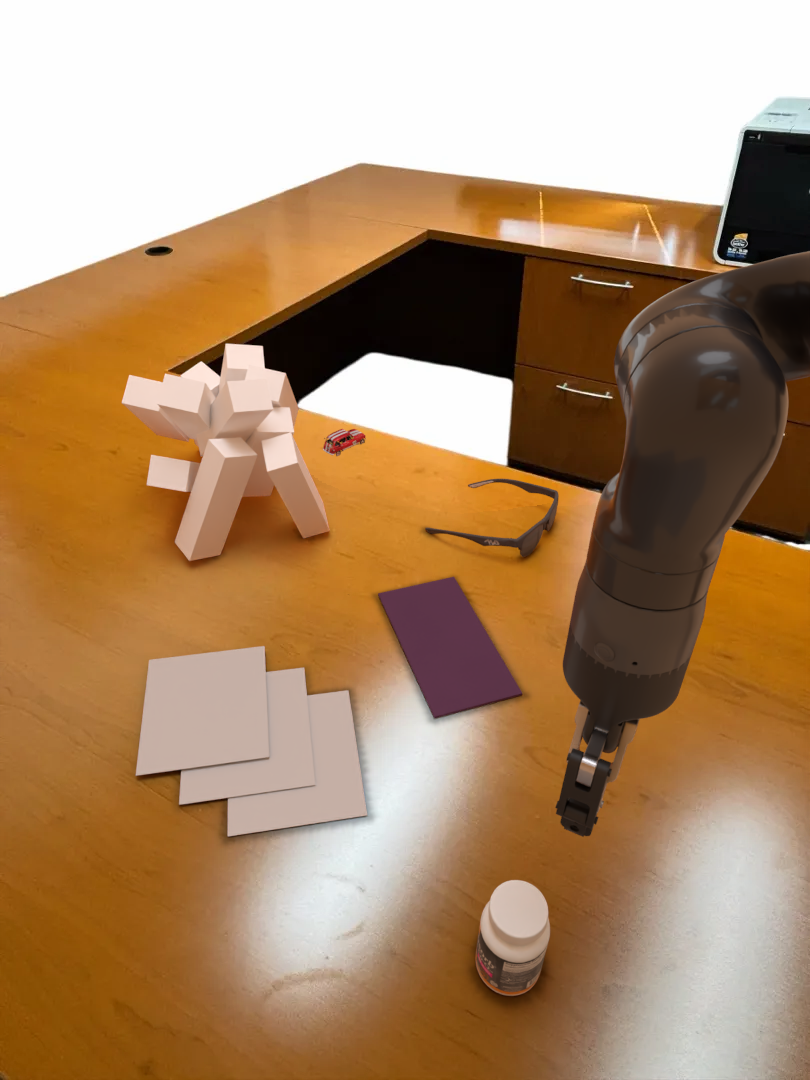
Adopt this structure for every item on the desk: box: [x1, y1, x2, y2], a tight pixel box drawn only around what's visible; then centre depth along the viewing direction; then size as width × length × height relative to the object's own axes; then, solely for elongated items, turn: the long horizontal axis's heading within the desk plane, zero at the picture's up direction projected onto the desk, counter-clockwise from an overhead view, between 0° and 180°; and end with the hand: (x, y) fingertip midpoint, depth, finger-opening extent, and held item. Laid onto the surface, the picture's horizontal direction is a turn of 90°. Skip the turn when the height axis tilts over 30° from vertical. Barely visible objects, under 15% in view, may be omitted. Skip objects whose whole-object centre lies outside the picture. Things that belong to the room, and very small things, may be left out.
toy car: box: [322, 428, 367, 457], centre depth 134 cm, size 4×8×3 cm, turn 133°
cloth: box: [377, 576, 523, 719], centre depth 98 cm, size 22×11×1 cm, turn 19°
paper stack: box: [135, 645, 368, 837], centre depth 86 cm, size 23×25×1 cm
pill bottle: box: [475, 879, 551, 997], centre depth 64 cm, size 6×6×10 cm
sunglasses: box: [424, 478, 559, 558], centre depth 116 cm, size 16×17×5 cm
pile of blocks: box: [121, 343, 331, 562], centre depth 112 cm, size 35×30×35 cm
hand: (592, 781), depth 58 cm, fingers open, 8 cm apart
